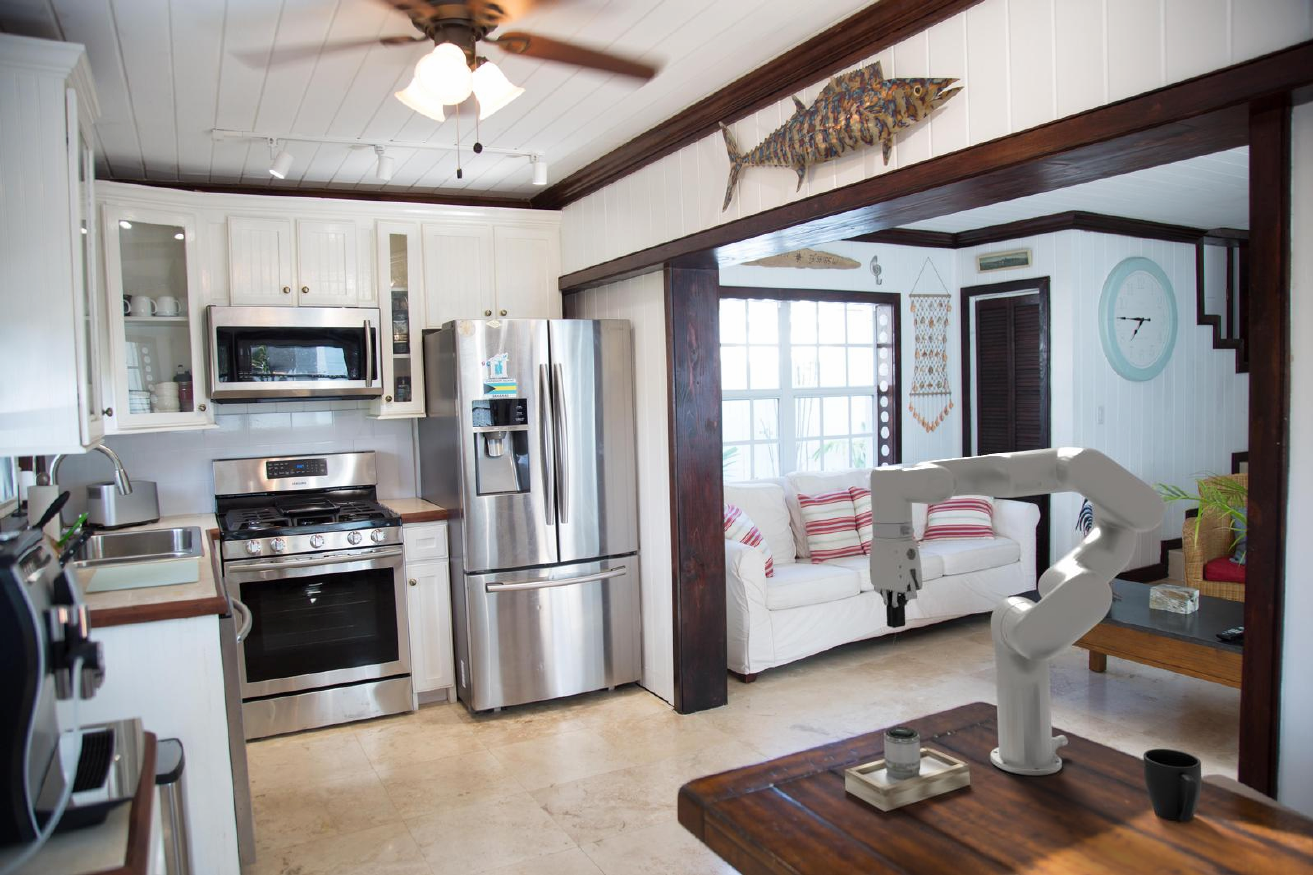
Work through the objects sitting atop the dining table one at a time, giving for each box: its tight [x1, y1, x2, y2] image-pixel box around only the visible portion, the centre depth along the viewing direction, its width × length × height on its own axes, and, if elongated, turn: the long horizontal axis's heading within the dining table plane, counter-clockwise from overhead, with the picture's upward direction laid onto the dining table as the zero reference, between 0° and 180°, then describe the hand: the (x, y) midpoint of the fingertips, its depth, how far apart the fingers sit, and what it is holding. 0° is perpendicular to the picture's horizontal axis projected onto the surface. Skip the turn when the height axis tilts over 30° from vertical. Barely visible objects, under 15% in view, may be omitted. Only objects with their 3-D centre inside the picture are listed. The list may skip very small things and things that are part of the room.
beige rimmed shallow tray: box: [844, 746, 971, 812], centre depth 161 cm, size 20×10×4 cm, turn 117°
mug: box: [1142, 748, 1202, 823], centre depth 144 cm, size 8×12×10 cm
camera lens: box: [883, 726, 921, 779], centre depth 160 cm, size 6×6×8 cm
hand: (896, 626), depth 170 cm, fingers closed
